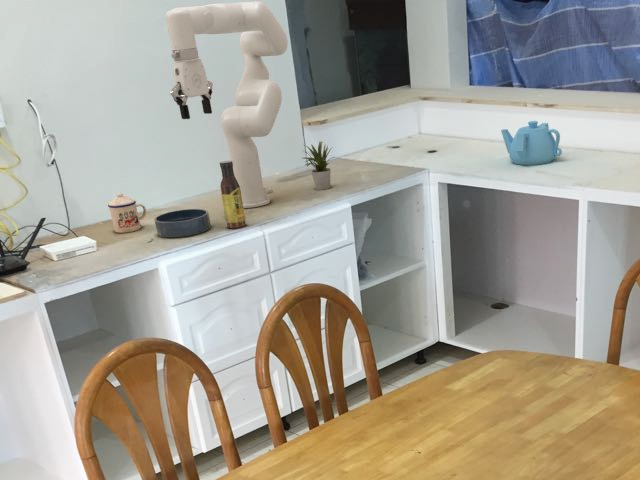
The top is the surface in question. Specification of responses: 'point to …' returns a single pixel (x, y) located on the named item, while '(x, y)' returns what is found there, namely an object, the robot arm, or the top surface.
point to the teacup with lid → (125, 214)
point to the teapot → (532, 144)
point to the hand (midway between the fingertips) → (197, 116)
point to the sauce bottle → (231, 197)
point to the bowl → (182, 223)
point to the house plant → (319, 167)
